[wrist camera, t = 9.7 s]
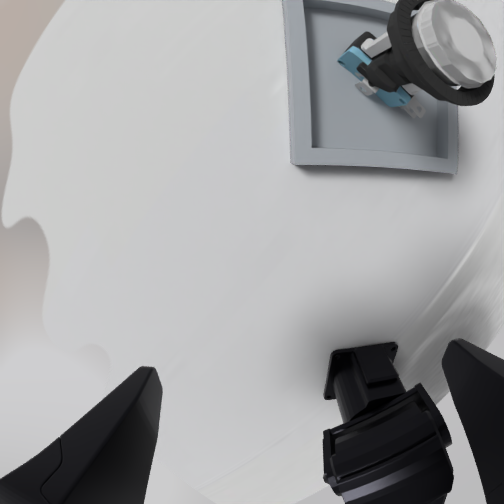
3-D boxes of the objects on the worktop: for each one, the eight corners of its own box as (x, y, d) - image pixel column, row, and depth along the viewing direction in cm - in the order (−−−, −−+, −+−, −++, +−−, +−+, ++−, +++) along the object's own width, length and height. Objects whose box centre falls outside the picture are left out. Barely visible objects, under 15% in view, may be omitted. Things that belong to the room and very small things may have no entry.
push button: (428, 92, 15) (533, 83, 6) (392, 143, 17) (499, 159, 8) (359, 26, 14) (438, -37, 4) (316, 76, 15) (384, 20, 6)
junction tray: (443, 170, 18) (456, 174, 16) (290, 162, 18) (294, 164, 16) (433, 26, 13) (446, 21, 12) (281, -3, 13) (284, -15, 12)
